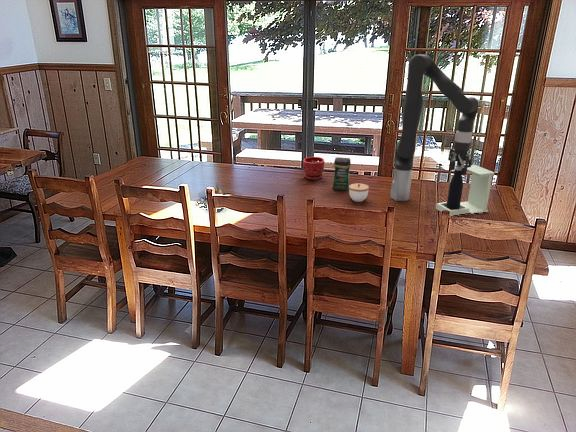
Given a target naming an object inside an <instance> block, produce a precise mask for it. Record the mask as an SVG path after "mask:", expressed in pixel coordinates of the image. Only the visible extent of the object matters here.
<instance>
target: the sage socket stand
mask: <svg viewBox="0 0 576 432" xmlns="http://www.w3.org/2000/svg"><path fill="white" fill-rule="evenodd" d="M466 173H469V174H471V179H470V185H469V192H468V197H467V198H468V199H467V201H461V202H460V208H459V209H455V210H450V209H448V208H446V206H447V201H445V202H444V201H443V202H438V203H436V205H435V209H436V210H437V211H439V212H440V213H442V211H443V210H448V211H450V216H452V217H454V216H453V215H458V216H460V215H459V214H465V213H471V214H473V215H475V214H474V213H479V214H484V213H483V212H486V213H488V212H489V210H488V208H487V207H488V203H489V198H490V192H491V187H492V180H493V177H494V175H495V172H494V171H491V170H489V169H486V168H484V167H482V166H479V165H477V164H471V167H468V168H467V172H466ZM471 214H470V215H471ZM465 215H466V214H465Z"/></svg>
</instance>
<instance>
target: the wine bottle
mask: <svg viewBox="0 0 576 432" xmlns="http://www.w3.org/2000/svg"><path fill="white" fill-rule="evenodd" d="M462 168H463V167H462V164H461V163H460V159H459V158H458V155H457V156H456V164H455V170H453V176H452V178H451V179H450V181H449V187H448V193H447V194H448V195H447V201H446V202H447V206H446V208H448V209H450V210H455V209H459V208H460V202H462V194H463V188H464V180H463V179H464V178H463V175H461V172H462Z"/></svg>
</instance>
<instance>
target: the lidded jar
mask: <svg viewBox="0 0 576 432" xmlns="http://www.w3.org/2000/svg"><path fill="white" fill-rule="evenodd" d="M369 189H370V187H369V185H368V184H364V183H360V182H359V183H357V182H355V183H352V184H349V189H348V194H349V197H350V198H351V199H352V201H353V202H356V203H357V202H360V203H361V202H363V201H364V200H366V198H367V197H368V195H369Z"/></svg>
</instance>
